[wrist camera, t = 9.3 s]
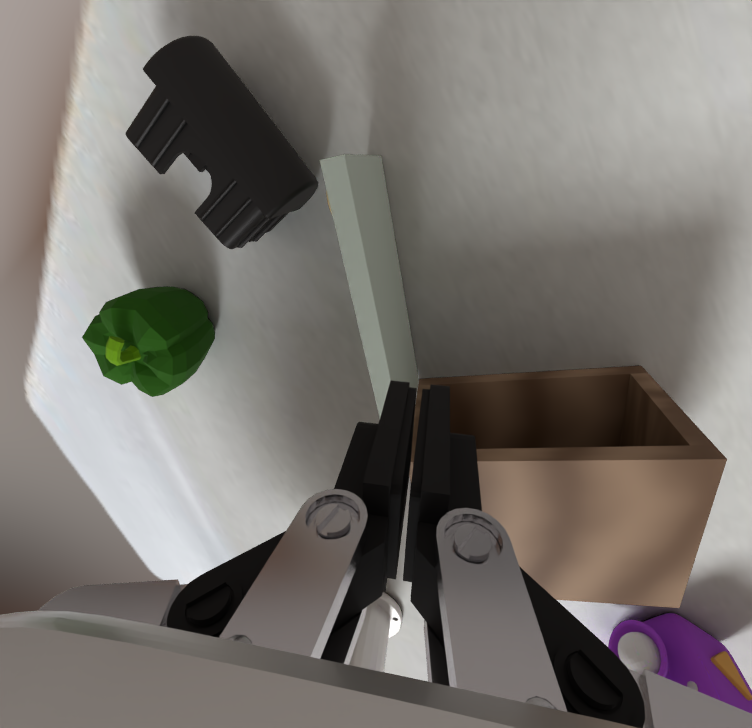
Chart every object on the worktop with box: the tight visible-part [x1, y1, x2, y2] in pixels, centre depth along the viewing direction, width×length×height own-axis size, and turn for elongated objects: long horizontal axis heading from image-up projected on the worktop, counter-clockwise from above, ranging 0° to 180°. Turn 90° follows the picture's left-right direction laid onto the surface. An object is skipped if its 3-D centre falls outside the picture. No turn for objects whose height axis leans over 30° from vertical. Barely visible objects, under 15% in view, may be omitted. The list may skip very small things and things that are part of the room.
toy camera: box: [608, 613, 752, 714], centre depth 41 cm, size 11×14×10 cm
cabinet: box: [409, 366, 727, 608], centre depth 31 cm, size 18×14×11 cm
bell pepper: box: [82, 287, 215, 397], centre depth 32 cm, size 8×8×10 cm
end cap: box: [126, 36, 318, 249], centre depth 25 cm, size 10×7×7 cm
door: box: [320, 154, 418, 418], centre depth 26 cm, size 18×2×11 cm, turn 11°
